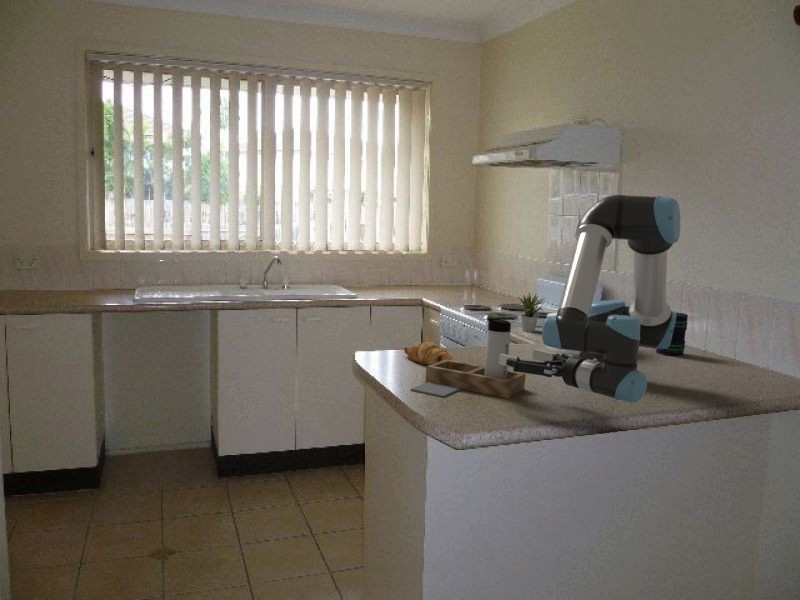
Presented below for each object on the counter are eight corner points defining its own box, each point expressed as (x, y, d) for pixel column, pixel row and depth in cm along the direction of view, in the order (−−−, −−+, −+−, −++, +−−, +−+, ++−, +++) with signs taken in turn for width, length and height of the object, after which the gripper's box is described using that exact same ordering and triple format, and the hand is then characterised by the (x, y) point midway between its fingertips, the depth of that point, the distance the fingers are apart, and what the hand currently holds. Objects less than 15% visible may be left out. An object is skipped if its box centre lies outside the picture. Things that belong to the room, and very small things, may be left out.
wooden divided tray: (524, 389, 196) (525, 373, 196) (508, 398, 186) (509, 381, 185) (444, 374, 209) (445, 359, 208) (425, 381, 199) (426, 366, 198)
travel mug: (480, 385, 197) (485, 315, 195) (503, 386, 198) (508, 316, 195) (484, 392, 191) (489, 319, 188) (508, 392, 192) (513, 320, 189)
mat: (460, 389, 192) (460, 388, 192) (443, 397, 183) (443, 395, 183) (428, 383, 197) (428, 381, 197) (410, 390, 188) (410, 388, 188)
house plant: (544, 335, 282) (548, 295, 279) (510, 332, 285) (513, 292, 283) (547, 330, 295) (550, 291, 293) (514, 327, 299) (517, 289, 297)
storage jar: (654, 354, 256) (659, 314, 254) (655, 349, 265) (659, 310, 263) (683, 358, 253) (688, 317, 250) (684, 353, 262) (688, 313, 260)
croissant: (459, 378, 219) (468, 355, 221) (443, 367, 212) (452, 343, 214) (408, 364, 233) (417, 342, 235) (391, 353, 226) (401, 330, 227)
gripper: (614, 353, 179) (548, 338, 195) (552, 364, 163) (486, 346, 179) (611, 382, 180) (546, 365, 196) (550, 395, 164) (483, 375, 180)
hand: (517, 356), depth 187 cm, fingers open, 13 cm apart
